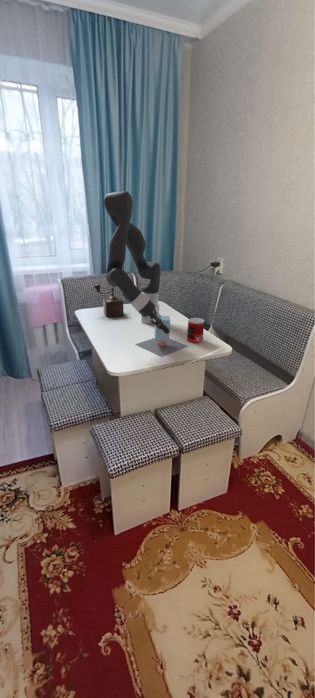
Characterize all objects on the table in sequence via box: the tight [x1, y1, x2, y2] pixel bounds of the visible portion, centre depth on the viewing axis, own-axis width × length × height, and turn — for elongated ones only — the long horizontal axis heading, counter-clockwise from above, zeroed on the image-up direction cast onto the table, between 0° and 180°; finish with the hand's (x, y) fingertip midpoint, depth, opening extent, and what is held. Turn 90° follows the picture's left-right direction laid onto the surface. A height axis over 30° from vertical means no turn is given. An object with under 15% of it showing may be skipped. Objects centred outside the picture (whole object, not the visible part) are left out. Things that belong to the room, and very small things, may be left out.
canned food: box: [186, 317, 205, 344], centre depth 155 cm, size 8×8×11 cm
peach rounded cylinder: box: [158, 341, 166, 347], centre depth 149 cm, size 4×4×4 cm
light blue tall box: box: [154, 315, 171, 341], centre depth 147 cm, size 6×6×10 cm
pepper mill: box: [93, 283, 124, 318], centre depth 189 cm, size 16×11×18 cm
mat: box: [135, 337, 189, 358], centre depth 150 cm, size 18×18×1 cm
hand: (167, 329), depth 147 cm, fingers closed on light blue tall box, 6 cm apart
